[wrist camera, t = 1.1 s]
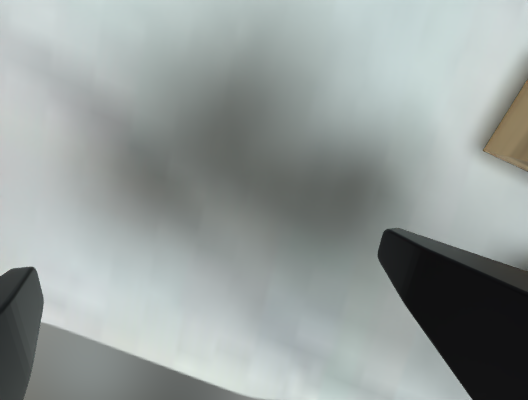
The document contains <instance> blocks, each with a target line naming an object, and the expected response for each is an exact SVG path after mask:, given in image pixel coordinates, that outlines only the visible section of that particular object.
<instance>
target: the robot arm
mask: <svg viewBox="0 0 528 400" xmlns="http://www.w3.org/2000/svg"><path fill="white" fill-rule="evenodd" d="M378 259H379V261H380V263H381V265H382V267H383V268H384V270H385V272H386V273H387V275H388V277H389V279H390V280H391V282H392V284H393V286H394V287H395V289H396V291H397V292H398V294H399V296H400V298H401V299H402V301H403V302H404V304H405V305H406V307H407V308H408V310H409V311H410V313H411V314H412V315H413V317H414V318H415V320H416V321H417V322H418V324H419V325H420V327H421V328H422V329H423V331H424V332H425V334H426V335H427V337H428V338H429V339H430V341H431V342H432V344H433V345H434V346H435V348H436V349H437V351H438V352H439V353H440V355H441V356H442V358H443V359H444V360H445V362H446V363H447V365H448V366H449V367H450V369H451V370H452V372H453V373H454V374H455V376H456V377H457V379H458V380H459V381H460V383H461V384H462V386H463V387H464V389H465V390H466V391H467V393H468V394H469V396H470V397H471V398H472V400H528V272H527V271H524V270H521V269H518V268H515V267H512V266H509V265H506V264H503V263H500V262H498V261H495V260H492V259H489V258H486V257H483V256H480V255H477V254H474V253H471V252H468V251H465V250H462V249H459V248H456V247H453V246H450V245H447V244H444V243H441V242H438V241H436V240H433V239H430V238H427V237H424V236H421V235H418V234H415V233H412V232H409V231H406V230H403V229H400V228H392V229H386V230H385V231H384V232H383V235H382V238H381V242H380V246H379V249H378ZM43 304H44V300H43V294H42V290H41V286H40V282H39V278H38V274H37V271H36V269H35V268H34V267H23V268H14V269H11V270H9V271H7V272H6V273H5V274H3V275H2V276H0V400H23V399H24V396H25V393H26V389H27V386H28V383H29V379H30V376H31V372H32V367H33V362H34V357H35V351H36V345H37V340H38V334H39V328H40V323H41V317H42V311H43Z"/></svg>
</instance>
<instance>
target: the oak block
mask: <svg viewBox="0 0 528 400" xmlns="http://www.w3.org/2000/svg"><path fill="white" fill-rule="evenodd" d="M483 151H485V152H487V153H489V154H491V155H493V156H495V157H498V158H500V159H502V160H504V161H506V162H508V163H510V164H512V165H515V166H517V167H519V168H521V169H523V170H525V171H527V172H528V79H527V81H526V83H525V84H524V86H523V87H522V89H521V91H520V92H519V94H518V95H517V97H516V99H515V100H514V102H513V103H512V105H511V107H510V108H509V110H508V111H507V113H506V114H505V116H504V118H503V119H502V121H501V122H500V124H499V126H498V127H497V129H496V130H495V132H494V134H493V135H492V137H491V138H490V140H489V142H488V143H487V145H486V146H485V148H484V150H483Z"/></svg>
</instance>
